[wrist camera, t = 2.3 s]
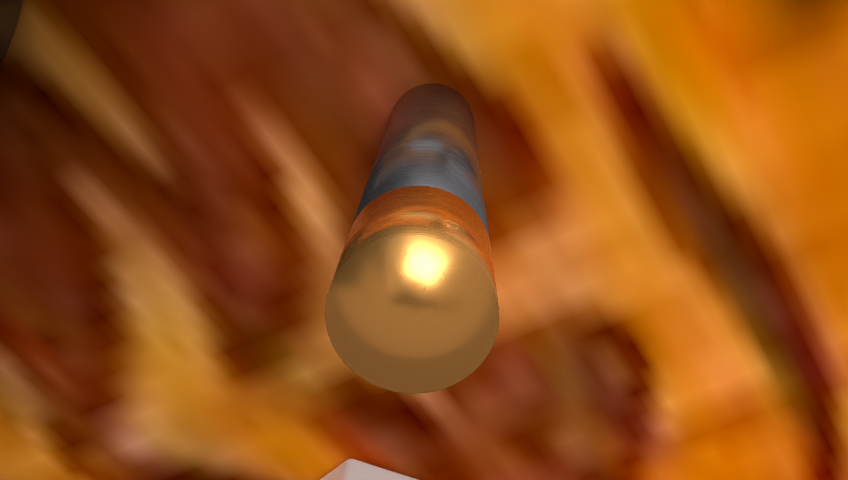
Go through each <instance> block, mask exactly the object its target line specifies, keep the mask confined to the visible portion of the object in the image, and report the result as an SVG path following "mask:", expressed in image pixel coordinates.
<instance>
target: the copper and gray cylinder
mask: <svg viewBox="0 0 848 480" xmlns="http://www.w3.org/2000/svg"><path fill="white" fill-rule="evenodd" d="M325 319H326V327H327V331H328V334H329V338H330V340H331V342H332V345H333V347H334V348H335V350H336V352H337V354H338V355H339V357H340V358H341V359H342V360H343V362H344V363H345V364H346V365H347V366H348V367H349V368H350V369H351V370H352V371H353V372H354V373H356V374H357V375H358V376H360V377H361V378H363V379H364V380H366V381H368V382H369V383H371V384H374V385H376V386H378V387H380V388H383V389H387V390H390V391H395V392H400V393H411V394H415V393H427V392H434V391H438V390H441V389H445V388H447V387H449V386H452V385H454V384H456V383H458V382H460V381H461V380H463V379H465V378H466V377H467V376H469V375H470V374H471V373H473V372H474V371H475V370H476V369H477V368H478V367H479V366H480V365H481V363H482V362H483V361H484V360H485V358H486V357H487V355H488V354H489V352H490V350H491V349H492V346H493V344H494V342H495V339H496V335H497V331H498V325H499V306H498V298H497V291H496V284H495V276H494V269H493V261H492V254H491V247H490V239H489V232H488V224H487V217H486V209H485V202H484V195H483V187H482V180H481V172H480V165H479V157H478V150H477V143H476V135H475V128H474V120H473V115H472V112H471V109H470V107H469V105H468V103H467V102H466V100H465V99H464V98H463V97H462V96H461V95H460V94H459V93H458V92H457V91H455V90H454V89H452V88H450V87H447V86H444V85H440V84H424V85H420V86H417V87H415V88H413V89H411V90H409V91H408V92H406V93H405V94H404V95H403V96H402V97H401V98H400V99H399V101H398V102H397V104H396V106H395V108H394V110H393V113H392V115H391V118H390V121H389V124H388V127H387V129H386V132H385V135H384V138H383V141H382V143H381V146H380V149H379V152H378V155H377V157H376V160H375V163H374V166H373V168H372V171H371V174H370V177H369V180H368V182H367V185H366V188H365V191H364V194H363V196H362V199H361V202H360V205H359V208H358V210H357V213H356V216H355V219H354V222H353V224H352V227H351V230H350V233H349V236H348V238H347V241H346V244H345V247H344V250H343V252H342V255H341V258H340V261H339V264H338V266H337V269H336V272H335V275H334V278H333V280H332V283H331V286H330V289H329V292H328V295H327V300H326V307H325Z"/></svg>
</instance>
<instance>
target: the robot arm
mask: <svg viewBox="0 0 848 480" xmlns="http://www.w3.org/2000/svg"><path fill="white" fill-rule="evenodd" d="M21 4H22V0H0V61H1V59H2V57H3V55H4V53H5V51H6V49H7V47H8V45H9V43H10V40H11V38H12V35H13V33H14V30H15V27H16V24H17V20H18V17H19V13H20V8H21Z"/></svg>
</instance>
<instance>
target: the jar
mask: <svg viewBox="0 0 848 480" xmlns="http://www.w3.org/2000/svg"><path fill="white" fill-rule="evenodd" d="M319 480H418V479H415V478H412V477H409V476H405V475H402V474H399V473H396V472H393V471H390V470H387V469H383V468H380V467H377V466H374V465H371V464H368V463H365V462H362V461H359V460H356V459H352V458H351V459H347V460H346V461H345V462H343V463H342V464H340V465H339V466H338V467H336V468H335V469H333V470H332V471H331V472H329V473H328V474H326V475H325V476H324V477H322V478H321V479H319Z"/></svg>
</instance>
